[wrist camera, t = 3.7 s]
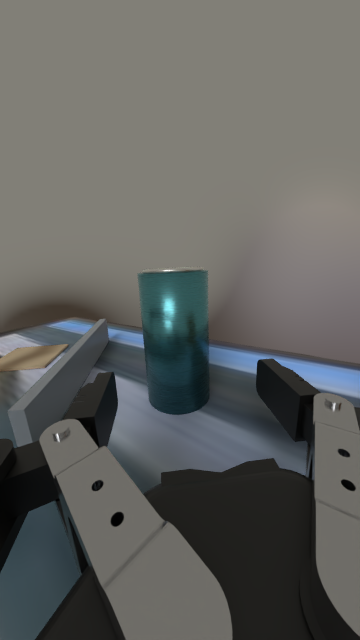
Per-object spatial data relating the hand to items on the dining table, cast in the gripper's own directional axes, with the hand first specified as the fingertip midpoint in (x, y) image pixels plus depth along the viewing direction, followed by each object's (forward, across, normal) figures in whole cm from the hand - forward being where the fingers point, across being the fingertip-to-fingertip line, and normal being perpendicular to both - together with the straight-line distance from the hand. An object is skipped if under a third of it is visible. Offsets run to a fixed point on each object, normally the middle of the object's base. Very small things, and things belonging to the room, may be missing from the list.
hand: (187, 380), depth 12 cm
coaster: (+21, +21, +6) cm, 31 cm away
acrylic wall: (+14, +11, +6) cm, 19 cm away
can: (+8, 0, +6) cm, 11 cm away
